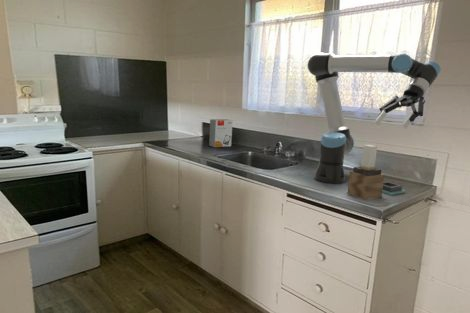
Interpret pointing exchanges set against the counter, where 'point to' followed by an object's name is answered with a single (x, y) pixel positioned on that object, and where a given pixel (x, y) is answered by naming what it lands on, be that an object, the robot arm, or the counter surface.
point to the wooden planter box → (366, 183)
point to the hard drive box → (220, 132)
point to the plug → (368, 157)
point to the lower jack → (392, 188)
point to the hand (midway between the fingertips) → (390, 124)
